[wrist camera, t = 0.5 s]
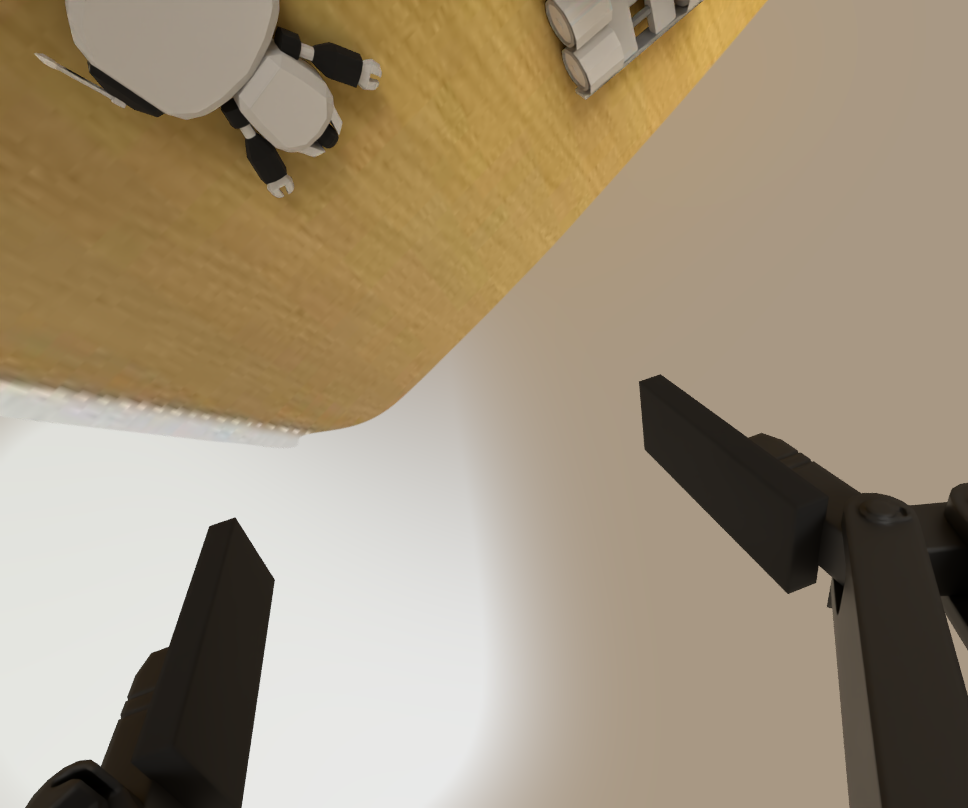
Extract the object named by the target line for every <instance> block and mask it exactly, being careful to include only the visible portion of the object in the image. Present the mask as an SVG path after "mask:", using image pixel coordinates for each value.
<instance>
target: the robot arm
mask: <svg viewBox="0 0 968 808" xmlns="http://www.w3.org/2000/svg"><path fill="white" fill-rule="evenodd" d="M639 386H640V399H641V410H642V423H643V435H644V447H645V450H646V451H647V452H648V453H649V454H650V455H651V456H652V457H653V458H654V459H655V460H656V461H657V462H658V463H659V464H660V465H661V466H662V467H663V468H664V469H665V470H666V471H667V472H668V473H669V474H670V475H671V476H672V477H673V478H674V479H675V480H676V482H677V483H679V485H681V487H682V488H684V489H685V490H686V492H688V494H689V495H690V496H691V497H692V498H693V499H694V500H695V501H696V502H697V503H698V504H699V505H700V506H701V507H702V508H703V509H704V510H705V511H706V512H707V513H708V514H709V515H710V516H711V517H712V518H713V519H714V520H715V521H716V522H717V523H718V524H719V525H720V526H721V527H722V528H723V529H724V530H725V531H726V532H727V533H728V534H729V535H730V536H731V537H732V538H733V539H734V540H735V541H736V542H737V543H738V544H739V545H740V546H741V547H742V548H743V549H744V550H745V551H746V552H747V553H748V554H749V555H750V556H751V557H752V558H753V559H754V560H755V561H756V562H757V563H758V564H759V565H760V566H761V567H762V568H763V569H764V570H765V571H766V572H767V573H768V574H769V575H770V576H771V577H772V578H773V579H774V580H775V581H776V582H777V583H778V584H779V585H780V586H781V587H782V588H783V589H784V590H785V592H787V593H788V594H789V593H792V592H794V591H796V590H799V589H802V588H804V587H807V586H809V585H812V584H814V583H816V580H817V572H818V566H820V567H821V568H823V569H824V570H825V571H826V572H827V573H828V574H829V575H830V576H832V581H831V586H830V592H829V598H828V604H827V607H829V608H832V609H833V621H834V632H835V643H836V655H837V667H838V679H839V690H840V702H841V713H842V725H843V737H844V748H845V760H846V771H847V783H848V795H849V805H850V808H968V695H967V691H966V688H965V684H964V680H963V677H962V673H961V670H960V666H959V662H958V659H957V655H956V651H955V648H954V644H953V641H952V637H951V633H950V630H949V626H948V623H947V619H946V615H947V617H948V619H949V620H950V622H951V624H952V625H953V627H954V628H955V630H956V632H957V633H958V635H959V637H960V638H961V640H962V641H963V643H964V645H965V646H966V648H967V650H968V483H964V484H960V485H958V486H956V487H954V488H953V489H952V490H951V493H950V495H949V499H948V502H944V503H932V504H922V505H907V504H906V503H904V502H903V501H900V500H898V499H896V498H894V497H891V496H887V495H883V494H878V493H862V494H861V493H860V492H858V491H857V490H855V489H854V488H852V487H851V486H849V485H848V484H846V483H845V482H843V481H842V480H840V479H839V478H838V477H836V476H834V475H833V474H831V473H830V472H828V471H827V470H826V469H824V468H823V467H821V466H820V465H818V464H817V463H815V462H811V460H810V459H809V458H808V457H806V456H805V455H803V454H802V453H798V451H797V450H796V449H795V448H793V447H792V446H790V445H789V444H787V443H786V442H784V441H783V440H781V439H777V438H775V437H772V436H769V435H766V434H763V433H760V434H757V435H755V436H752V437H749V438H747V437H746V436H744V435H743V434H742V433H741V432H739V431H738V430H736V429H735V428H734V427H732V426H731V425H730V424H728V423H727V422H725V421H724V420H723V419H721V418H720V417H719V416H717V415H716V414H714V413H713V412H712V411H710V410H709V409H707V408H706V407H705V406H703V405H702V404H701V403H699V402H698V401H697V400H695V399H694V398H692V397H691V396H690V395H688V394H687V393H686V392H684V391H683V390H681V389H680V388H679V387H677V386H676V385H674V384H673V383H672V382H670V381H669V380H667V379H666V378H665V377H663V376H662V375H657V376H654V377H651V378H649V379H646V380H642V381H639ZM274 581H275V580H274V578H273V576H272V575H271V573H270V572H269V570H268V569H267V567H266V565H265V564H264V562H263V561H262V559H261V557H260V556H259V554H258V553H257V551H256V550H255V548H254V546H253V545H252V543H251V542H250V540H249V538H248V537H247V535H246V534H245V532H244V530H243V529H242V527H241V526H240V524H239V523H238V521H237V519H236V518H233V519H230V520H227V521H224V522H220V523H218V524H215V525H212V526H210V527H209V529H208V532H207V535H206V538H205V541H204V544H203V547H202V550H201V553H200V556H199V559H198V562H197V565H196V568H195V571H194V574H193V577H192V580H191V583H190V586H189V589H188V591H187V594H186V597H185V600H184V603H183V606H182V609H181V612H180V615H179V618H178V621H177V624H176V627H175V630H174V633H173V636H172V639H171V642H170V645H169V647H167V648H164V649H162V650H159V651H156V652H153V653H151V654H150V656H149V657H148V659H147V660H146V661H145V663H144V664H143V666H142V667H141V669H140V670H139V671H138V673H137V674H136V676H135V678H134V681H133V683H132V686H131V689H130V691H129V694H128V697H127V698H128V701H126V702H125V704H124V707H123V710H122V713H121V719H120V720H118V723H117V725H116V728H115V731H114V733H113V736H112V739H111V741H110V744H109V747H108V750H107V752H106V755H105V757H104V760H103V762H102V765H101V766H99V765H98V764H97V763H95V762H93V761H92V760H83V761H78V762H75V763H73V764H71V765H69V766H67V767H65V768H63V769H62V770H60V771H59V772H58V773H56V774H55V775H54V776H53V777H51V778H50V779H49V780H48V781H47V782H46V783H45V784H44V785H43V786H42V787H41V788H40V789H39V790H38V791H37V792H36V793H35V794H34V795H33V797H32V798H31V800H30V801H29V803H28V805H27V806H26V807H25V808H241V807H242V800H243V793H244V786H245V779H246V772H247V766H248V759H249V752H250V745H251V738H252V732H253V725H254V718H255V711H256V704H257V697H258V691H259V683H260V677H261V670H262V663H263V657H264V649H265V643H266V636H267V629H268V622H269V616H270V609H271V602H272V595H273V588H274ZM945 614H946V615H945Z"/></svg>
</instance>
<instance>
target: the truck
mask: <svg viewBox="0 0 968 808" xmlns="http://www.w3.org/2000/svg"><path fill="white" fill-rule="evenodd" d="M636 1H637V0H547V1H546V3H545V6H546V14H547V16H548V19H549V22H550V25H551V27H552V28H553V30H554V32H555V34H556V35H557V37H558V38H559V39H560V40H561V41H562V43H563V44H564V45H566V46H567V47H566V48H565V49H564V50H563V51H562V59H563V62H564V65H565V68H566V70H567V72H568V74H569V75H570V77H571V79H572V80H573V81H574V83H575V84H576V85H577V86H578V88H576V89H575V91H576V93H577V94H578V95H580V96H581V97H583V98H584V99H585V100H586V99H588V98H589V97H590V96H591V95H592V94H593V93H595V92H596V91H597V90H598V89H599V88H601V87H602V86H603V85H604V84H605V83H606V82H608V81H609V80H610V79H611V78H612V77H613V76H615V75H616V74H617V73H618V72H619V71H621V70H622V69H623V68H624V67H625V66H626V65H628V64H629V63H630V62H631V61H632V60H633V59H635V58H636V57H637V56H638V55H639V54H641V53H642V52H643V51H644V50H645V49H646V48H648V47H649V46H650V45H651V44H652V43H654V42H655V41H656V40H657V39H658V38H659V37H661V36H662V35H663V34H664V33H665V32H666V31H668V30H669V29H670V28H671V27H672V26H674V25H675V24H676V23H677V22H678V21H679V20H681V19H682V18H683V17H684V16H685V15H686V14H688V13H689V12H690V11H691V10H692V9H694V8H695V7H696V6H697V5H698V4H699V3H701V2H702V1H703V0H644V4H645V7H644V8H643V9H641V10H640V11H639V12H638V13H637V14H635V15H634V16H633V17H632V18H631V14H630V9H629V7H630V6H632V5H633V4H634V3H635V2H636ZM674 3H675V4H674ZM646 17H647V20H648V25H649V27H648V28H646V29H645V30H644V31H643V32H642V33H641V34H639V35H638V36H637V37H635V33H634V27H635V26H636V25H637V24H639V23H640V22H641V21H642V20H643V19H644V18H646Z"/></svg>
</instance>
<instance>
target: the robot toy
mask: <svg viewBox="0 0 968 808" xmlns="http://www.w3.org/2000/svg"><path fill="white" fill-rule="evenodd" d="M65 6H66V11H67V16H68V21H69V25H70V29H71V33H72V37H73V41H74V44H75V45H76V46H77V47H78V49H79V50H80V51H81V52H82V54H83V55H84V56H85V57H86V59H87V63H88V68H89V72H90V74H91V75H92V76H93V77H94V78H95V79H96V81H97V82H98V83H99V84H100V85H101V86H102V87H103V88H104V89H103V88H101V87H99V86H97V85H96V84H94V83H92V82H90V81H88V80H87V79H85V78H83V77H81V76H80V75H78V74H76V73H74V72H72V71H71V70H69V69H67V68H65V67H63V66H62V65H60V64H58V63H56V62H55V60H53V59H51V58H50V57H48V56H46V55H44V54H38V53H34V54H35V55H36V56H37V57H38V58H39V59H40V60H41V61H42V62H43V63H44V64H46V65H48V66H50V67H51V68H53V69H55V68H56V69H57V70H59V71H61V72H63V73H65V74H67V75H68V76H70V77H72V78H74V79H76V80H77V81H79V82H81V83H83V84H85V85H87V86H88V87H90V88H92V89H94V90H96V91H97V92H99V93H101V94H103V95H105V96H107V97H108V98H110V99H111V101H112V102H113V103H115V104H116V105H118V106H120V107H122V108H125V106H126V105H128V106H129V107H131V108H133V109H134V110H137V111H140V112H143V113H146V114H149V115H152V116H155V117H159V116H161V115H163V114H168V115H171V116H175V117H178V118H182V119H185V120H188V119H192V118H196V117H201V116H205V115H207V114H209V113H211V112H213V111H214V110H216V109H217V108H219V107H220V106H221V110H222V112H223V113H224V115H225V117H226V118H227V120H228V121H229V123H230V125H231V126H232V127H234V128H235V129H239V128H240V130H241V132H242V133H243V135H244V137H245V145H246V153H247V158H248V160H249V161H250V163H251V165H252V166H253V168H254V169H255V171H256V172H257V174H258V176H259V177H260V179H261V180H262V181H263V182H264V183H265V184H267V190H268V191H269V192H271V193H272V194H273V195H274V196H275V197H278V198H282V197H284V194H283V192H282V191H281V190H280V189H279V188H280V187H283V186H285V187H286V191H287V192H288V194H290V193H292V191H293V190H294V183H293V180H292V177H290V176H289V175H287V171H286V166H285V165H284V163H283V161H282V159H281V158H280V156H279V154H278V152H277V151H276V149H275V147H276V148H278V149H281V150H284V151H286V152H300V153H303V154H306V155H309V156H312V157H315V156H318V155H320V154H322V153H324V152H325V150H324V149H323V147H322V146H324V147H325V148H331V147H333V146H334V145H335V144H336V143H337V141H338V138H339V137H338V134H339V135H340V130H341V126H342V121H341V119H340V117H339V115H338V113H337V111H336V109H335V107H334V101H333V96H332V94H331V92H330V90H329V88H328V87H327V85H326V83H325V82H324V80H323V79H322V78H321V76H320V75H319V74H318V72H317V71H316V70H315V68H314V67H312V66H311V65H310V64H308V63H307V62H306V61H305V60H303V59H302V58H305V59H308V60H310V61H311V62H312V63H313V64H314V65H315V66H316V67H317V68H318V69H319V70H320V71H321V72H322V73H323V74H324V75H325V76H326V77H328V78H330V79H333V80H336V81H339V82H341V83H344V84H347V85H350V86H353V87H357V85H359V86H360V87H361V88H362V89H365V90H375V89H376V88H377V87H378V85H379V82H378V80H377V79H372V78H370V74H371V73H372V74H374V75H377V76H379V77H380V78H381V75H382V71H381V68H380V65H379V64H378V63H377V62H375V61H374V60H372V59H367V60H362V58H361V56H360V54H359V53H356V52H353V51H351V50H348V49H346V48H343V47H341V46H338V45H336V44H333V43H330V42H328V43H323V44H318V45H314V46H309V45H306V44H304V43H301V41H300V38H299V36H298V34H296V33H293V32H291V31H288V30H286V29H283V28H281V27H278V26H277V29H276V32H275V37H274V39H272V36H273V33H274V30H275V27H276V24H277V20H278V15H279V0H65ZM301 57H302V58H301ZM232 97H233V98H232ZM330 122H331V124H332V125H333V127H334V128H335V129H334V128H333V127H332V126H331V125H330V124H329V123H330ZM250 123H251V124H252V125H253V126H254V127H255V128H256V129H257V130H258V132H259V133H260V134H261V135H263V136H264V137H265V138H266V139H267V140H268V141H267V140H266V139H265V138H263V137H262V136H261V135H259V134H258V133H256V132H255V130H254V129H253V127H252V125H251V124H250ZM336 131H337V132H338V133H337V132H336ZM274 146H275V147H274Z"/></svg>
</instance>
